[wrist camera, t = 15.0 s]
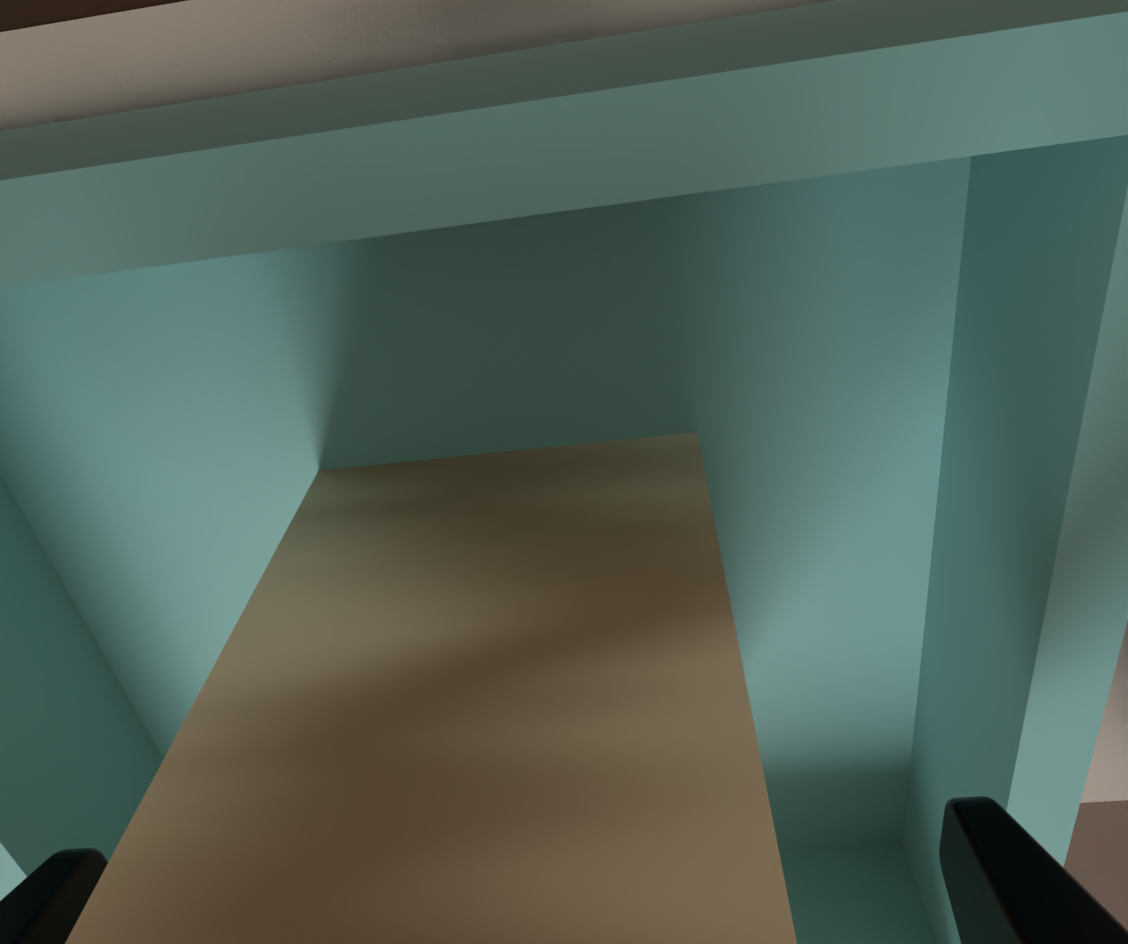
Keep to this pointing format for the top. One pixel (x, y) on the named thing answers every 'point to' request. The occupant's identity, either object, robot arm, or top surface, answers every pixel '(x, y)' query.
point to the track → (343, 49)
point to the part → (469, 724)
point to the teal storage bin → (608, 388)
